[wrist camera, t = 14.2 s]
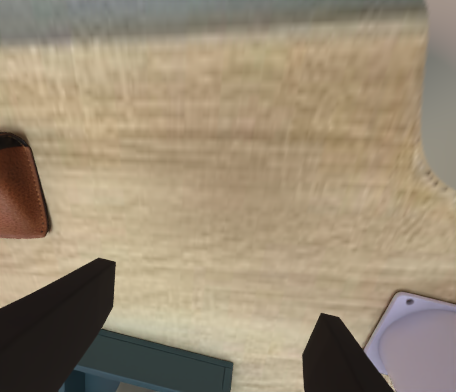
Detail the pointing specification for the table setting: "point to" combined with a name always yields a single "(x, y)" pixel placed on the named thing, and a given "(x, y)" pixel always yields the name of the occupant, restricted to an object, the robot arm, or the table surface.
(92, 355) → the tray
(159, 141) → the table surface
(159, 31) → the table surface
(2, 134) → the sunglasses case
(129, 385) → the cosmetic box
